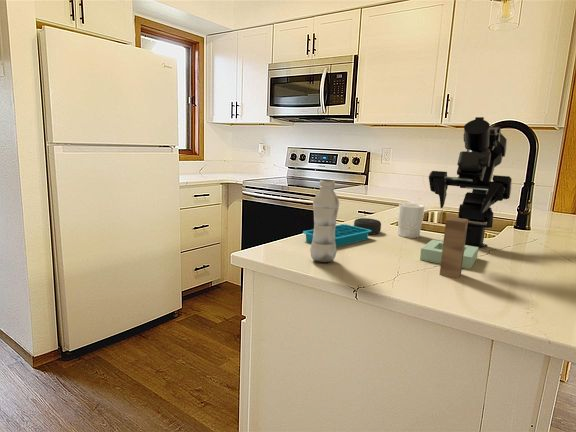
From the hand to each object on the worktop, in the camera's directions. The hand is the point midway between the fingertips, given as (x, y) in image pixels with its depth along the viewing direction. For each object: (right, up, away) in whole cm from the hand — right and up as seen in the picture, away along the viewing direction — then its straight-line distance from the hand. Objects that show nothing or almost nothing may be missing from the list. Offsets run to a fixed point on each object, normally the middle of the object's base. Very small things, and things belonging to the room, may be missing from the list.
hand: (460, 209), depth 95 cm
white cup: (-2, -8, +33) cm, 34 cm away
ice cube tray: (-27, -9, +24) cm, 37 cm away
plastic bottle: (-33, -13, +2) cm, 36 cm away
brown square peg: (-4, -15, -4) cm, 16 cm away
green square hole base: (+1, -13, +8) cm, 15 cm away
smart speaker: (-15, -7, +37) cm, 40 cm away
